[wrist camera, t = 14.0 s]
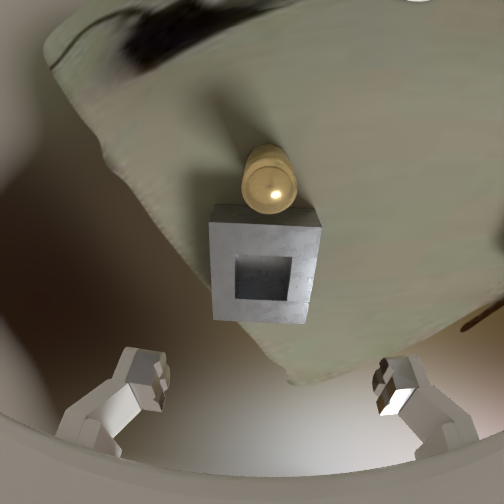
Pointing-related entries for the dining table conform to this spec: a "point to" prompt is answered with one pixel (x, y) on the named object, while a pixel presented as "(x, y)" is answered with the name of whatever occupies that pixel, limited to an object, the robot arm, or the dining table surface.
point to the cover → (268, 180)
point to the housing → (262, 263)
